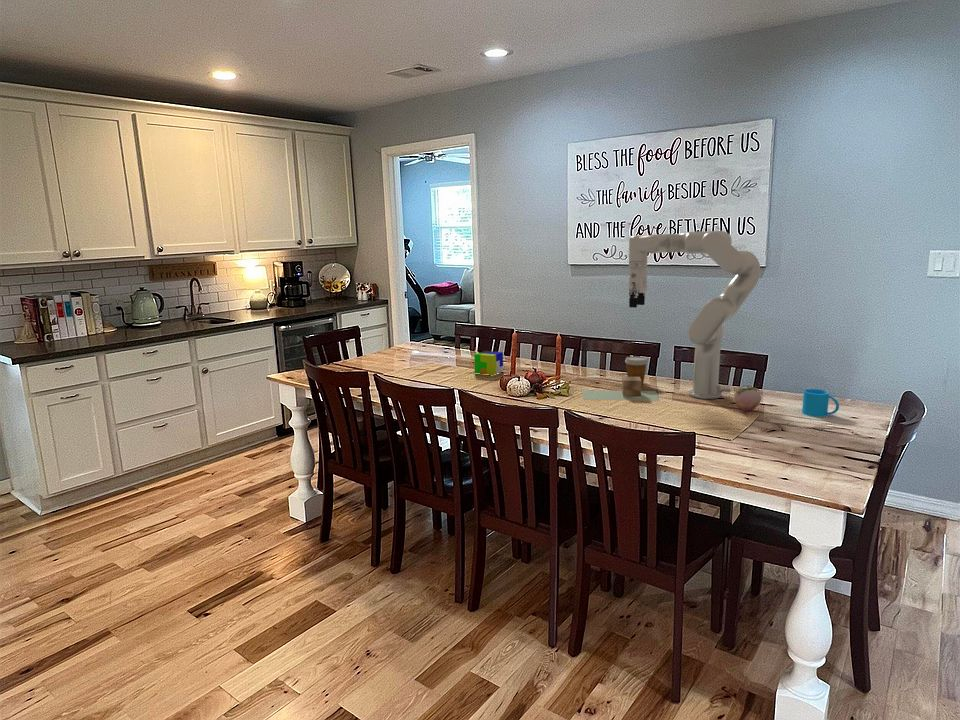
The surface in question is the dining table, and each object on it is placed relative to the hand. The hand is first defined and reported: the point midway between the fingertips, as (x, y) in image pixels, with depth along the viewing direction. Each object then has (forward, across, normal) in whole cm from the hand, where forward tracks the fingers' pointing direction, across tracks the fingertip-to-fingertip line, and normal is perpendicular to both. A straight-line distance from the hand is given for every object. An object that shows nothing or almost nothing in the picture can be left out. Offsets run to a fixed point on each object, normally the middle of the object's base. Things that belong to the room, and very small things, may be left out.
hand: (636, 306), depth 272 cm
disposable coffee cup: (+35, 0, 0) cm, 35 cm away
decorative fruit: (+35, -20, -49) cm, 63 cm away
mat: (+35, -20, -1) cm, 40 cm away
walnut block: (+34, -18, -5) cm, 39 cm away
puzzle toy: (+35, -8, +70) cm, 78 cm away
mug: (+35, -12, -73) cm, 81 cm away
